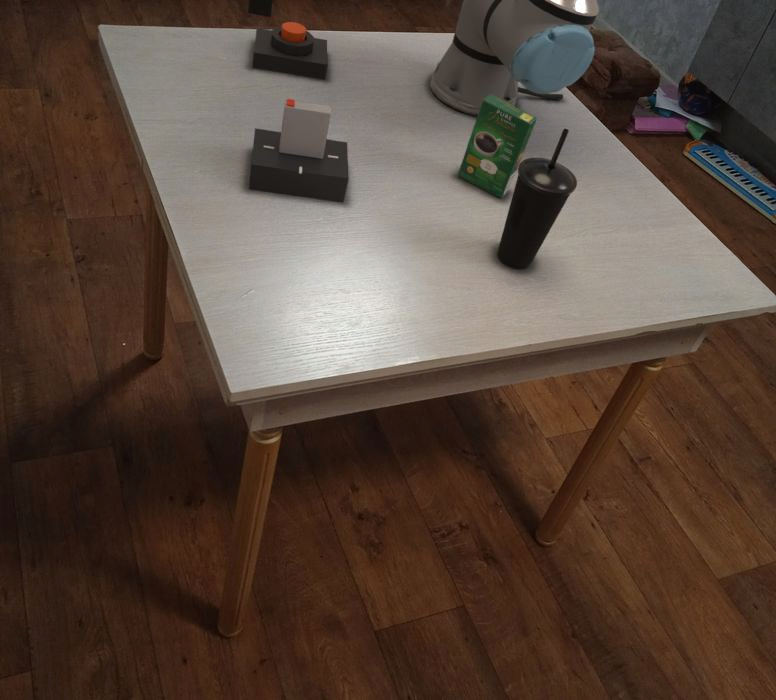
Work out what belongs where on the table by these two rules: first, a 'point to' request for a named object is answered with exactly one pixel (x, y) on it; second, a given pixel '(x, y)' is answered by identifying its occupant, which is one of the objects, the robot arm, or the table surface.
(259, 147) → the panel
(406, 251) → the table surface
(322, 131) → the grey upright slab
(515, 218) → the drinking cup
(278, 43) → the button block
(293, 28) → the button
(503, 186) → the coffee box
